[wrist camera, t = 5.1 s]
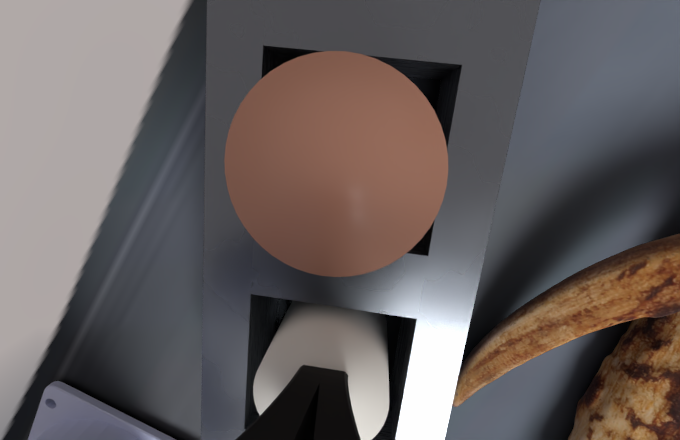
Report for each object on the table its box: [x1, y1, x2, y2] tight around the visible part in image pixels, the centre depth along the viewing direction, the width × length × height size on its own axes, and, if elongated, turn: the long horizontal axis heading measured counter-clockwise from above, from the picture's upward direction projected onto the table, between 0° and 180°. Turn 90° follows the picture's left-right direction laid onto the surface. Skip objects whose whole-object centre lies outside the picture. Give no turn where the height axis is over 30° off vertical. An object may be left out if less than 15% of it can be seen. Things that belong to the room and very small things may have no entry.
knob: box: [253, 300, 389, 440], centre depth 13 cm, size 4×4×4 cm
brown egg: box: [224, 51, 448, 277], centre depth 9 cm, size 4×4×4 cm
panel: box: [201, 0, 541, 440], centre depth 12 cm, size 21×8×4 cm, turn 174°
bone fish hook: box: [452, 234, 680, 440], centre depth 13 cm, size 9×5×18 cm
